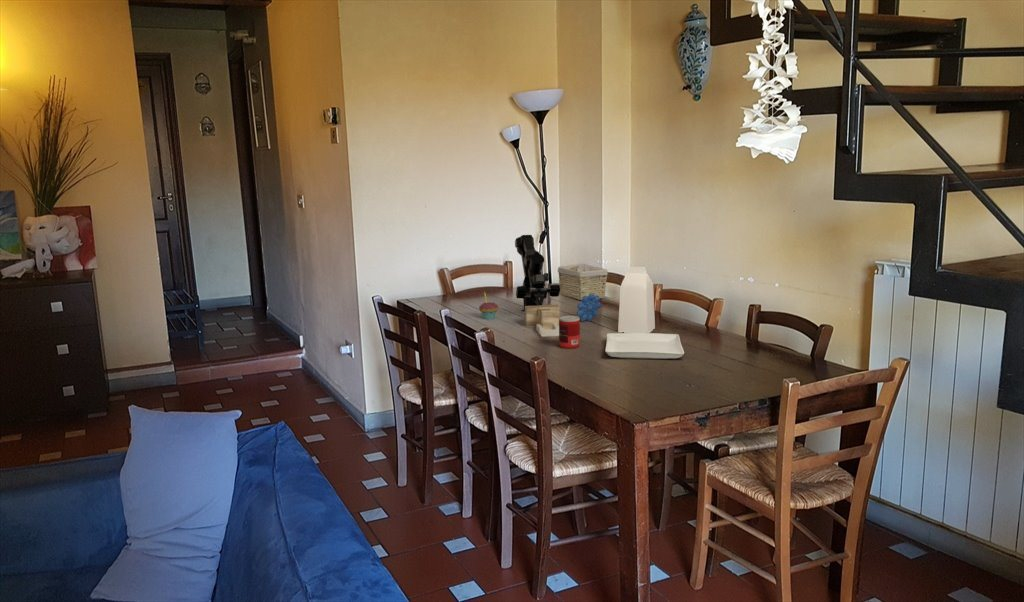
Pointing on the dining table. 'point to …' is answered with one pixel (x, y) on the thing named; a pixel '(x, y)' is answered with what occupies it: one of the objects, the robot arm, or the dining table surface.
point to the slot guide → (548, 332)
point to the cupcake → (488, 309)
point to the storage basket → (582, 281)
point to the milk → (636, 302)
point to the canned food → (569, 332)
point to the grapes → (588, 307)
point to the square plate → (644, 345)
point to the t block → (542, 316)
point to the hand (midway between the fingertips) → (540, 307)
